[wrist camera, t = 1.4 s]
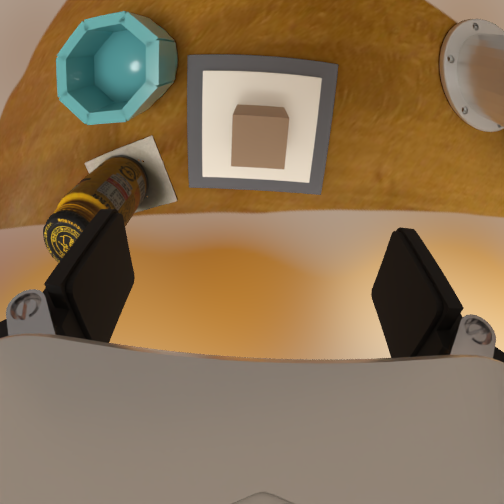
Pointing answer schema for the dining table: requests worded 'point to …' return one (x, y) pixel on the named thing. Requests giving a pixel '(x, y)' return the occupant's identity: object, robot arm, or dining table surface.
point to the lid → (259, 125)
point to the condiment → (110, 192)
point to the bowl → (115, 67)
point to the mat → (258, 65)
